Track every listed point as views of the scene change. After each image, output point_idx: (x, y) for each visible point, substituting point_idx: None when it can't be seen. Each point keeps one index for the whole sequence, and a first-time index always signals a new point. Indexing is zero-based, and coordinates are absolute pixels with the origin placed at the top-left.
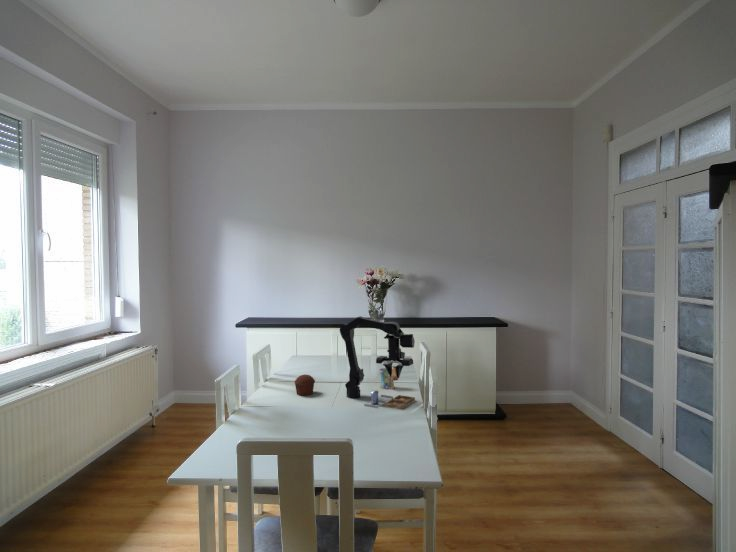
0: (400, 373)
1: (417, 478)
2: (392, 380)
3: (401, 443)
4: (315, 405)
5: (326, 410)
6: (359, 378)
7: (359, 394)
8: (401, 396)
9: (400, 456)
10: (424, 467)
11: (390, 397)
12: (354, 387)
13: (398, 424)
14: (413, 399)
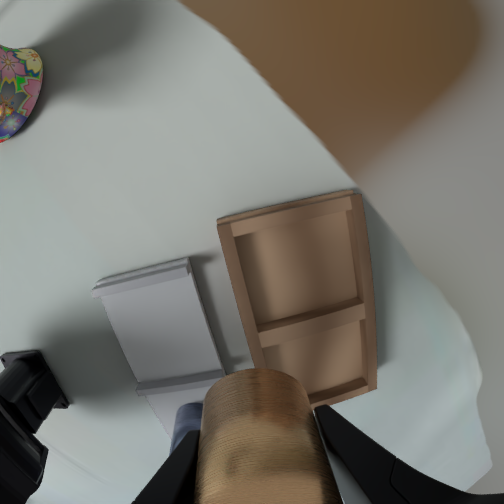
0: (368, 437)
1: (475, 481)
2: (5, 62)
3: (443, 474)
4: (60, 480)
5: (122, 500)
6: (33, 487)
7: (46, 391)
8: (250, 231)
9: (449, 485)
10: (482, 468)
11: (173, 277)
12: (45, 455)
13: (409, 446)
14: (361, 218)
